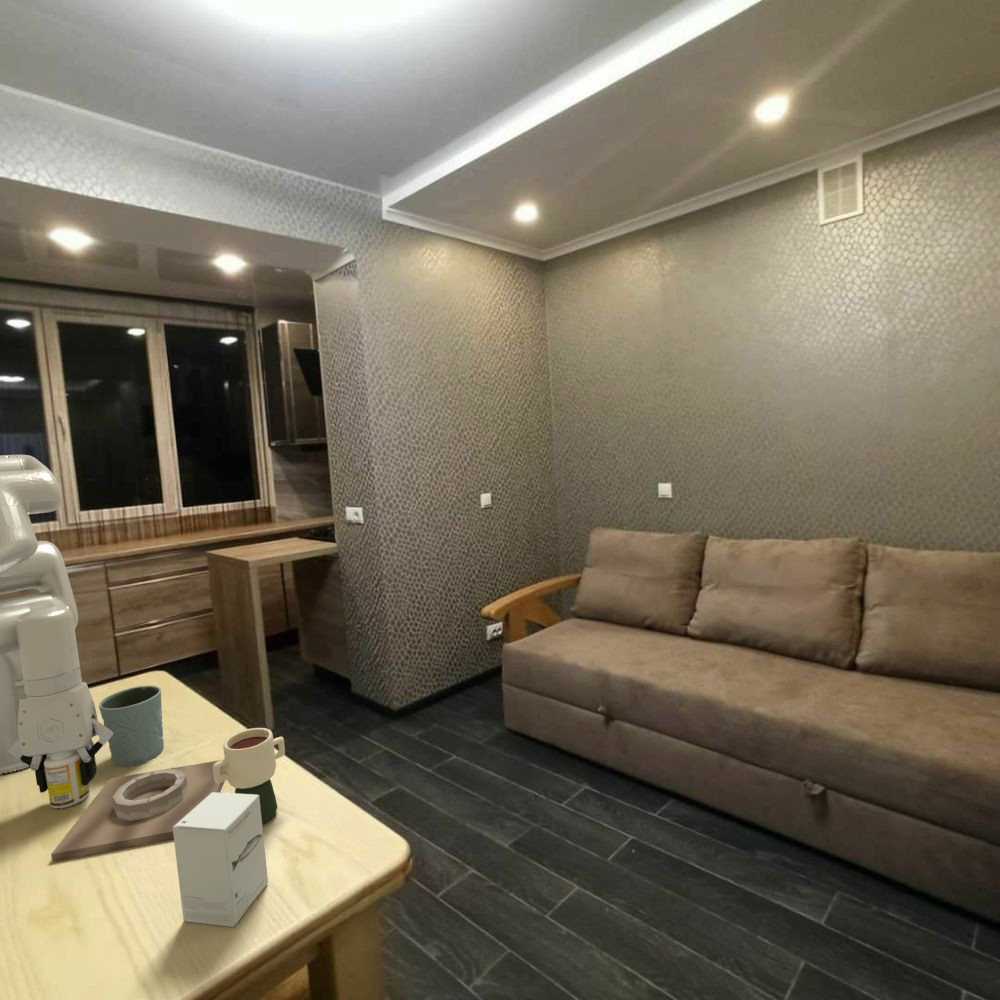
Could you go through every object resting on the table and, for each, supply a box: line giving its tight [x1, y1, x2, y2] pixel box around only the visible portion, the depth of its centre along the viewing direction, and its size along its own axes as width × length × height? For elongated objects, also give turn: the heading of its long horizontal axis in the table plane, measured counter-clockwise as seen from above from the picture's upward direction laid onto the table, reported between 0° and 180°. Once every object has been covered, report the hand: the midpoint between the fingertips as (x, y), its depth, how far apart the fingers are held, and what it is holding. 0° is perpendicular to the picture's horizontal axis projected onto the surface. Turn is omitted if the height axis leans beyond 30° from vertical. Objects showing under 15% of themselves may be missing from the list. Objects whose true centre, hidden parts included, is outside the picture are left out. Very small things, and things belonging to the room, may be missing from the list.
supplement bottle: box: [44, 750, 91, 809], centre depth 100 cm, size 6×6×10 cm
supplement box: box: [173, 792, 269, 928], centre depth 74 cm, size 7×7×13 cm
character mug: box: [213, 727, 286, 824], centre depth 91 cm, size 11×7×13 cm, turn 134°
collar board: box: [50, 759, 226, 862], centre depth 96 cm, size 20×20×4 cm
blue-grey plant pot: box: [98, 684, 165, 768], centre depth 113 cm, size 10×10×12 cm
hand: (68, 783), depth 100 cm, fingers closed on supplement bottle, 5 cm apart
